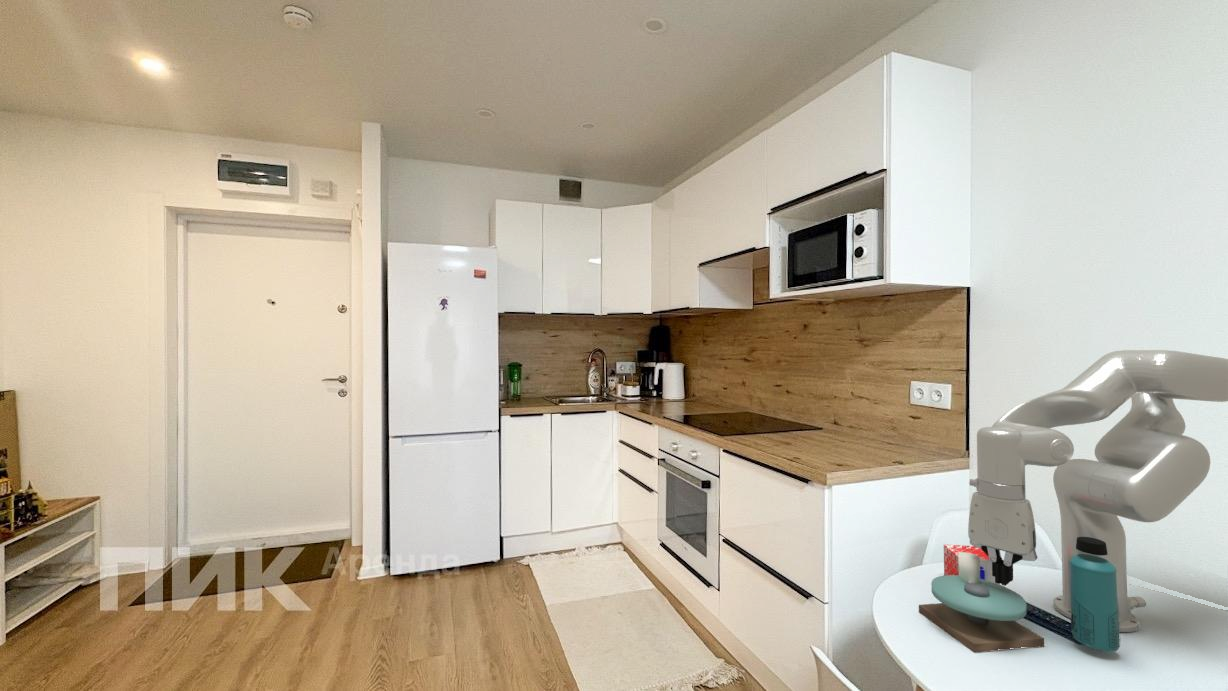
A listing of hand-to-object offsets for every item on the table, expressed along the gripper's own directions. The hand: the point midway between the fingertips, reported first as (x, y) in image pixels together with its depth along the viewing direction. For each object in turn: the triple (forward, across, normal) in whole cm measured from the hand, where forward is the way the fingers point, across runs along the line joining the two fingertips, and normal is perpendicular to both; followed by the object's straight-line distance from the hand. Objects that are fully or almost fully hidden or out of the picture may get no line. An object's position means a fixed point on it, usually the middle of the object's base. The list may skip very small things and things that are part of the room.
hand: (1002, 582), depth 98 cm
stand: (+8, -3, -6) cm, 10 cm away
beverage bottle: (+8, +13, +3) cm, 16 cm away
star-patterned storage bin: (+9, -10, +14) cm, 19 cm away
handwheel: (+3, -3, -6) cm, 7 cm away
